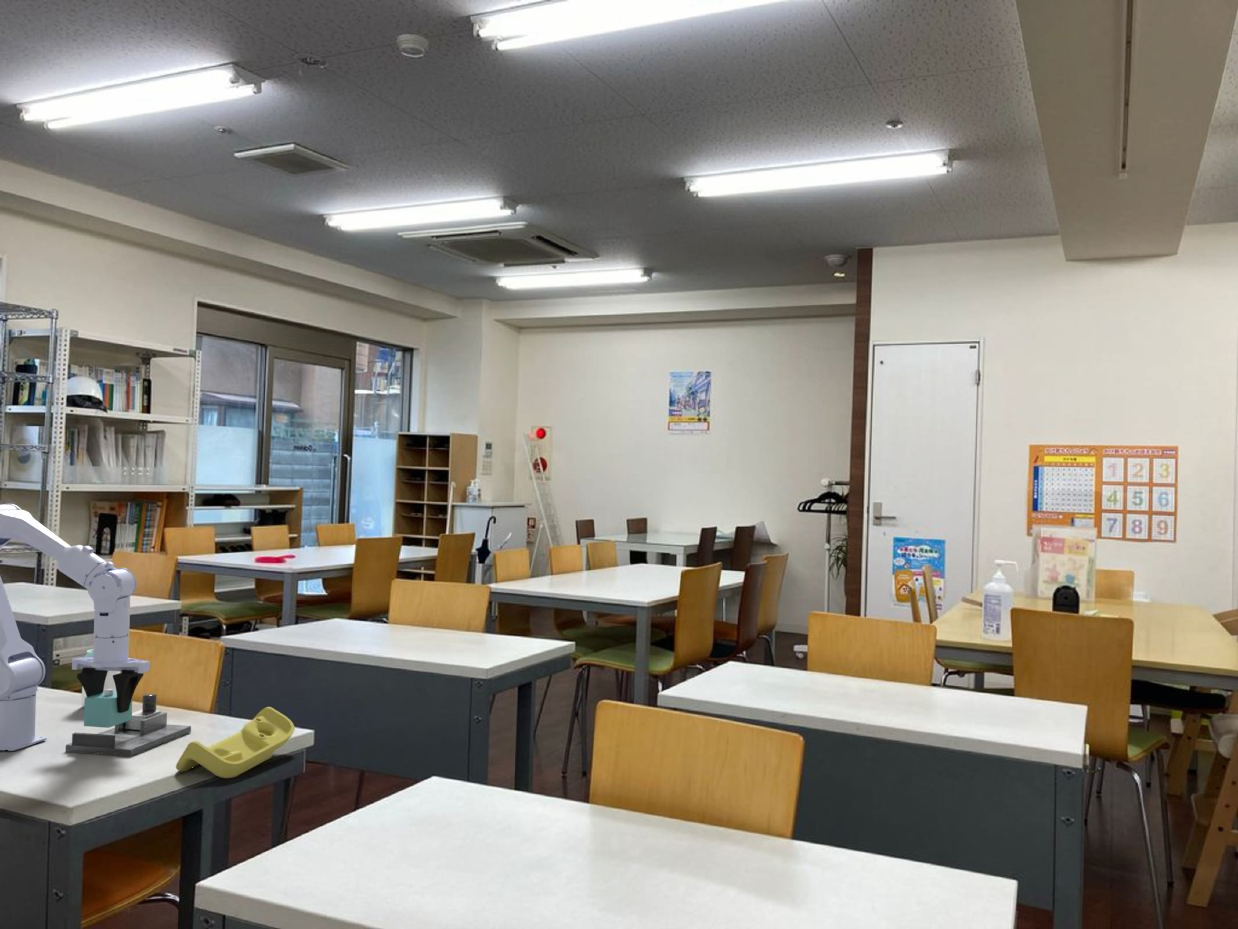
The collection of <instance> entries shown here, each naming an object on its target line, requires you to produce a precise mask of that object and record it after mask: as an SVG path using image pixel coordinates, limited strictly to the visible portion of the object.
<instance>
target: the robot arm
mask: <svg viewBox="0 0 1238 929" xmlns="http://www.w3.org/2000/svg"><path fill="white" fill-rule="evenodd" d="M13 539H16V540H21V541H22V542H24V543H26V544H27V545H29V546H31V547H32V548H35V549H36V550H38V551H40V552H41V553H43V554H44V555H46V556H48V557H50V558H52V559H53V560H55V561H56V563H57V570H58V571H59V572H60V573H62V574H64V575H66V576H67V577H68V578H70V579H71V580H73V581H74V582H76V583H77V584H79V586H80V585H81V586H82V587H84V588H85V589H87V592H88V595H89V597H90V598H91V600H92V601H93V610H94V615H93V616H94V617H93V618H94V621H93V648H92V649H93V657H85V656H83V657H76V658H72V659H71V670H72V671H73V670H74V671H76V670H82V671H81V672H79V673H77V674H76V679H77V680H78V681H79V682H80V684H81V687H82V686H83V688H84V690H85V693H86V695H87V697H90V696H93V695H96V694H100V693H103V690H104V684H105V679H106V676H107V673H108V671H120V673H119V674H115V675H113V679H114V682H115V686H116V692H117V710H118V713H123V712H126V711H128V710H129V707H130V703H131V700H132V701H133V696H134V693H135V692H136V689H137V687H138V685H139V684H140V681H141V680H142V679H143V676H144V674H146V673H149V672H151V671H150V668H151V666H150V665H151V661H150V660H142V659H137V658H131V657H129V656H130V652H129V651H130V650H129V649H130V622H131V621H130V618H131V617H130V616H131V614H130V613H131V597H132V596H133V594H135V592H136V589H137V584H138V583H137V579H136V577H135V575H134V574H133V572H131V571H130V570H129V569H128V568H126V567H115V563H113V562H112V561H107V560H105V559H103V558H102V557H100V556H98V555H97V554H96V553H94V548H93V547H92V546H90V545H82V544H76V545H72V546H71V545H70V544H69V543H67V542H66V541H64V540H63V539H62V538H60V537H59V536H58V535H56V534H55V533H54V532H52V531H51V530H50V529H49V528H47V527H46V526H44V525H43V524H42V523H41V522H39V521H38V520H36V519H35V518H34V517H33V516H32V514H31V513H30V512H29V511H27V510H24V509H22V508H20V507H19V506H18V505H16V504H14V503H4V504H3V503H2V504H0V551H1V550H2V548H4V546H6V545H7V544H9V542H10V541H12V540H13ZM34 649H35V648H34V647H33V646H32V645H31V644H30V643H28V642H27V641H25V640H24V639H22V638H21V634H20V630H19V629H18V625H17V622H16V618H15V616H14V613H13V610H12V607H11V603H10V601H9V599H8V594H7V591H6V588H5V586H4V582H3V580H2V577H1V575H0V751H5V750H8V751H9V752H15V751H17V750H20V749H23V748H27V747H29V746H32V745H35V744H38V743H41V742H44V741H46V740H47V737H46V736H36V715H37V714H36V713H37V712H36V711H37V710H36V709H37V692H38V687H39V685H40V684H41V683H42V682H43V680H44V679H45V676H46V667H45V664H44V662H43V660H42V658H40V657H39V656H38V655H37V654H36V652H35V650H34ZM114 667H117V668H114Z"/></svg>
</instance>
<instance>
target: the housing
mask: <svg viewBox="0 0 1238 929" xmlns="http://www.w3.org/2000/svg"><path fill="white" fill-rule="evenodd" d="M83 708H84V709H83V712H84V713H83V727H89V728H90V727H92V728H104V729H105V728H106V729H107V728H108V729H109V728H113V727H115V725H118V724H121V723H124V722H126V721H129V720H132V713H133V699H132V700H131V703H130V707H129V710H128V711H126V712H123V713H118V710H117V692H116V691H113V689H105V692H103V693H100V694H96V695H93V696H90V697H86V698H85V702H84V706H83Z"/></svg>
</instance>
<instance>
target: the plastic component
mask: <svg viewBox="0 0 1238 929" xmlns="http://www.w3.org/2000/svg"><path fill="white" fill-rule="evenodd" d="M294 732H295V725H294V723H293V722H292V720H291V719H290V718H288V716H286V715H285V714H283V713H281V712H280V711H278V710H277V709H275V708H273V707H271V706H267V707H264V708H263V709H261V710H260V711H259V712H258V713H257V714H256V715H255V716H254V717H253V718H252V720H250V721H248V722H246V723H245V724H244V725H243V726H242V729H241V730H240V731H238V732H237V733H234V734H232V735H231V736H228V737H226V738H224V739H222V740H220V741H218V742H215V743H214V744H212V745H209V746H208V747H207V746H205V745H204V744H202V743H201V742H199V741H198V740H193V741H191V742H189V743H188V744H187V746H186V748H185V749H184V751H183V753H182V754H181V755H180V757H179V759H178V761H177V763H176V765H175V769H176V770H177V771H179V772H182V773H184V772H187V771H189V770H191V769H190V768H192V767H194V768H196V767H197V766H196V765H198V766H202V767H203V768H205V769H206V770H207V771H210V772H211V773H212V774H214V775H215V776H217V777H219V778H222V779H231V778H235V777H238V776H240V775H241V774H244V773H245V772H247V771H248V770H251V769H252V768H254V767H256V766H258V765H260V764H262V763H263V762H265V761H267V760H269V759H270V758H272V756H273V754H274V752H275V751H277V750H278V749H279V748H281V747H283V746H284V745H285V744H286V743H287V742H288V741H289V739H290V738H291V737H292V735H293V734H294ZM199 764H200V765H199ZM195 766H196V767H195ZM188 769H189V770H188ZM192 769H193V768H192ZM186 770H187V771H186ZM183 771H184V772H183Z"/></svg>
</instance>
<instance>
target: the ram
mask: <svg viewBox="0 0 1238 929" xmlns="http://www.w3.org/2000/svg"><path fill="white" fill-rule="evenodd" d="M157 700H158V699H157V694H156V693H146V694H143V695H142V708H141V709H140V710H137V711H132V720H129V721H126V725H125V729H135V730H140V725H141V720H143V719H146V718H149V717H152V716H155V715H157V714H160V713H163V710H161V709H157Z"/></svg>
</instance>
